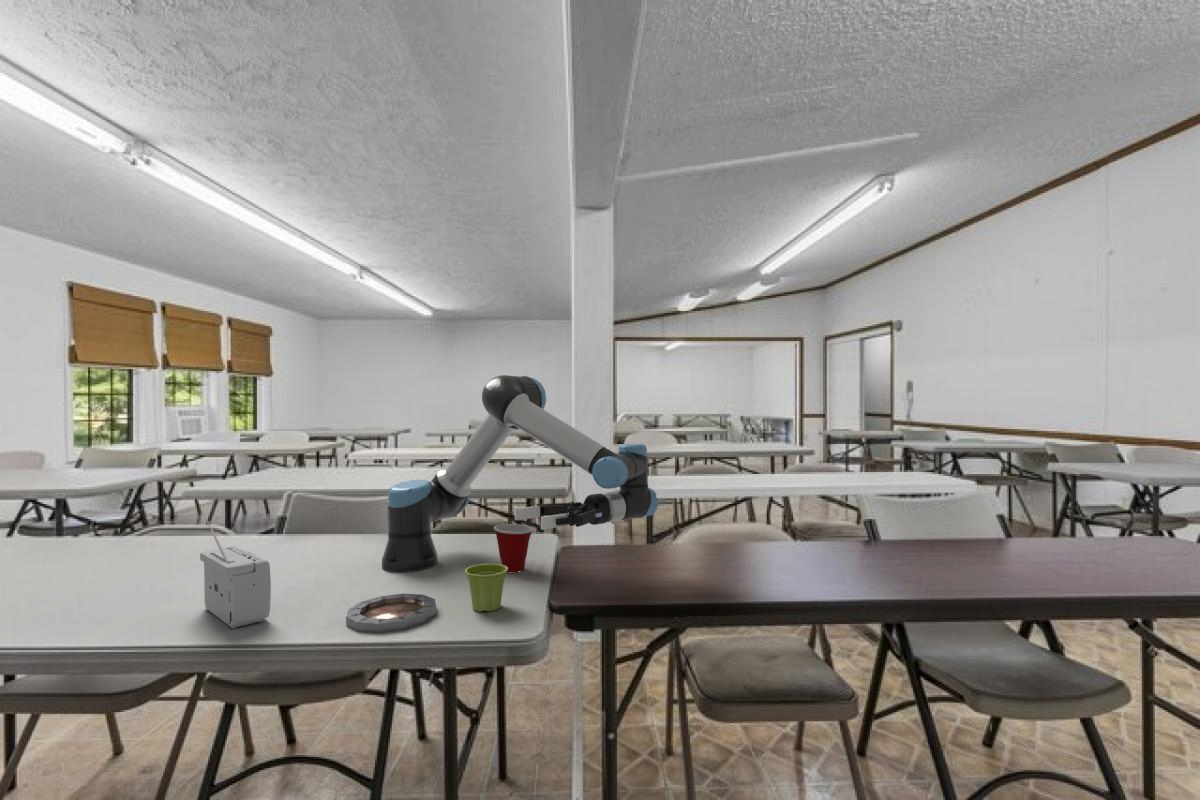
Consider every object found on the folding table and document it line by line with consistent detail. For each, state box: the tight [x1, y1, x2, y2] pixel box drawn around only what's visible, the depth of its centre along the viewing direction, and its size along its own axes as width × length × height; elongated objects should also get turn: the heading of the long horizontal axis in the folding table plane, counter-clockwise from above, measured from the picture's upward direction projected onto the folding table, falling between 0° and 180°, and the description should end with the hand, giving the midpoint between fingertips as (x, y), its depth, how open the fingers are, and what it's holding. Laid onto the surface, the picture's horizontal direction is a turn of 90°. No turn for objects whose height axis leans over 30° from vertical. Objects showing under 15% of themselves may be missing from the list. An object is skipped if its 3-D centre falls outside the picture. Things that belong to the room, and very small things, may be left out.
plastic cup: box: [493, 523, 534, 573], centre depth 160 cm, size 11×11×12 cm
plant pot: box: [464, 563, 508, 613], centre depth 131 cm, size 9×9×9 cm
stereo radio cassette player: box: [199, 521, 272, 629], centre depth 129 cm, size 21×8×20 cm, turn 48°
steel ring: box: [345, 593, 437, 634], centre depth 127 cm, size 18×18×2 cm
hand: (527, 518), depth 136 cm, fingers open, 13 cm apart
